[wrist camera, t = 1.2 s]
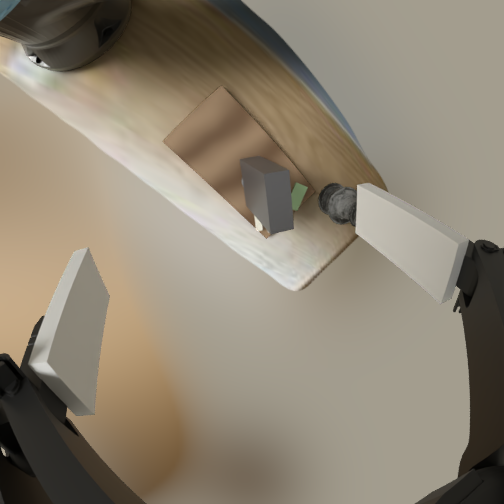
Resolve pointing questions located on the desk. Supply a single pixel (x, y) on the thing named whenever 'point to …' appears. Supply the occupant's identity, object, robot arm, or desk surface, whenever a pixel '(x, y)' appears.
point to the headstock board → (227, 148)
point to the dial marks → (297, 195)
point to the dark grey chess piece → (339, 203)
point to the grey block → (267, 194)
